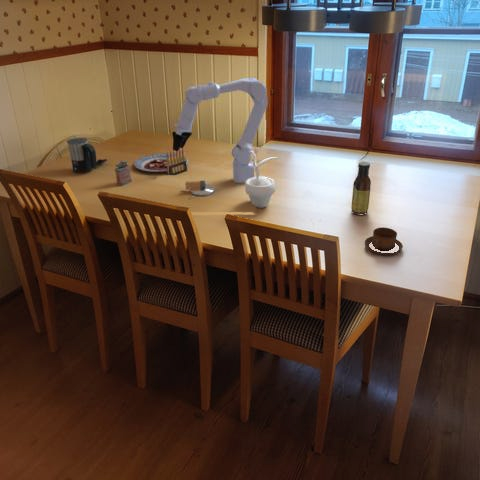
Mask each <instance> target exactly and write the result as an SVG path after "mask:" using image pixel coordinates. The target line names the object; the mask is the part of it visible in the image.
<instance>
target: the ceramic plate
mask: <svg viewBox="0 0 480 480" xmlns="http://www.w3.org/2000/svg"><path fill="white" fill-rule="evenodd" d="M172 155H173V153H172ZM169 156H170V153H169ZM185 160H186V164H187V165H188V162H189V159H188V158H187V157H185ZM134 167H135V168H137V169H138V170H141V171H145V172H151V173H152V172H153V173H155V172H156V173H165V172H167V153H156V154H150V155H146V156H143V157H140V158H138V159H137V160H136V161H135V162H134Z"/></svg>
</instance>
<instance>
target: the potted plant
mask: <svg viewBox="0 0 480 480" xmlns="http://www.w3.org/2000/svg"><path fill="white" fill-rule="evenodd" d="M249 152H250V153H251V155H252V156H253V158H252V159H251V161H252V163H253V165H254V172H255V174H256V175H255V177H253V178H249V179H247V180H246V181H245V183H244V191H245V194H246V195H248V197H249V201H250V203H251V205H253V206H255V208H257V209H262V208H267V206H268V205H269V203H270V201H271V198H272V196H273V194H274V193H275V192H276V181H275V179H272V178H270V177H266V176H264V175H263V176H260V169H259V167H261V166H262V165H264V164H266V163H267V162H269V161H272V160H275V159H279V157H278V156H277V157H276V156H273V157H268V158H264V159H263V160H261V161H259V160H257V154H258V153H259V151H258V150H257V147H255V148H254V150H252V151H249Z"/></svg>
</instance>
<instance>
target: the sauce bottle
mask: <svg viewBox="0 0 480 480" xmlns="http://www.w3.org/2000/svg"><path fill="white" fill-rule="evenodd" d="M370 167H371V163H370V162H367V161H360V162H358V166H357V168H358V171H357V175H356V177H355V179H354V181H353V186H352V196H351V205H350V206H351V213H352V212H353V213H355V214H365V213H367V214H368V210H369V205H370V198H371V197H370V196H371V186H372V185H371V184H372V182H371V178H370V177H369V174H370V173H369V172H370ZM353 213H352V214H353ZM355 214H354V215H355ZM365 215H366V214H365Z"/></svg>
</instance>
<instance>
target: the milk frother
mask: <svg viewBox="0 0 480 480" xmlns="http://www.w3.org/2000/svg"><path fill="white" fill-rule="evenodd" d="M66 143H67V146H68V149H69V151H68V152H69V156H70V161H71V166H72V172H73V173H74V174H86V173H89V172H92V171H93V169H96V168H97V167H99V166H101V165H103V164H105V163H106V162H107V161H108V159H107V158H104V159H100V158H99V159H98V160H97V153H96V148H95V146H93V145H92V144H90V143H88V138H87V137H75V138H74V137H73V138H70V139H68V140H66Z"/></svg>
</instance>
